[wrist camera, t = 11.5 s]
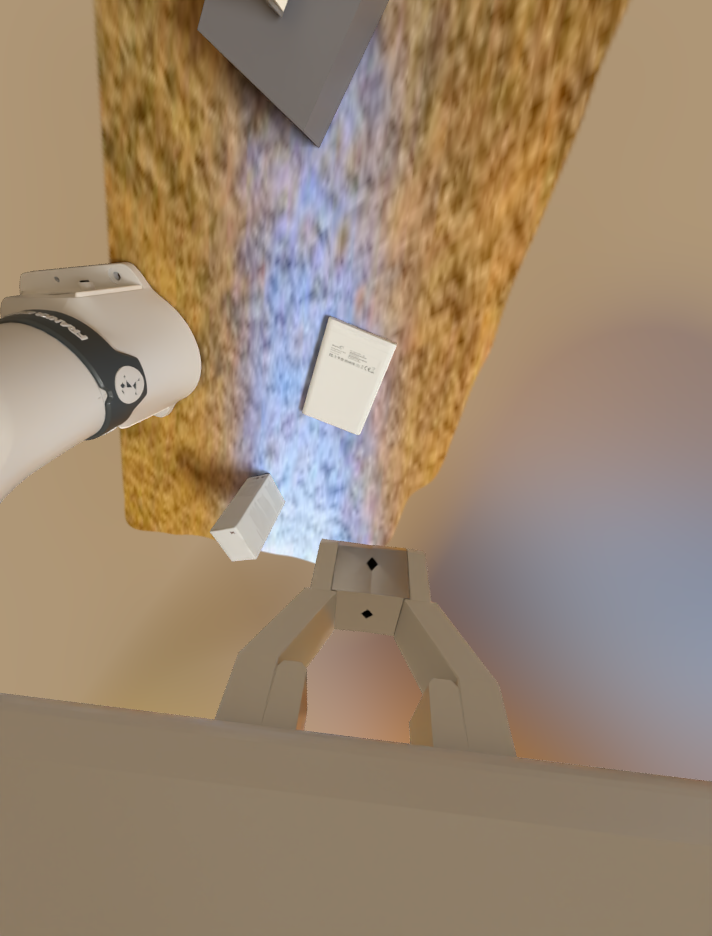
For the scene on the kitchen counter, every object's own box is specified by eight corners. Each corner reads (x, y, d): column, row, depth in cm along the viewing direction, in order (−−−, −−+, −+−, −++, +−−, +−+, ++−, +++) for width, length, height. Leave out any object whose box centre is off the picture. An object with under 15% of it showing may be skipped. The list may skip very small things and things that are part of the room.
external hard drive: (304, 408, 45) (331, 314, 38) (361, 430, 45) (397, 342, 38) (301, 413, 43) (328, 317, 36) (359, 436, 44) (397, 345, 37)
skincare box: (247, 477, 52) (207, 530, 42) (270, 472, 51) (235, 526, 41) (264, 506, 55) (231, 562, 45) (286, 502, 54) (257, 559, 44)
